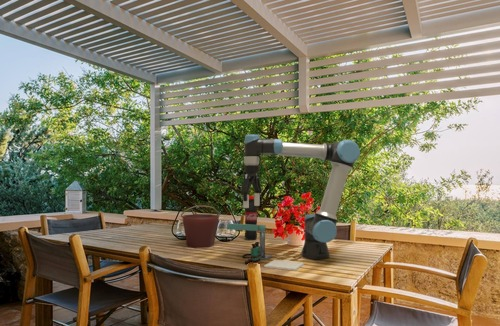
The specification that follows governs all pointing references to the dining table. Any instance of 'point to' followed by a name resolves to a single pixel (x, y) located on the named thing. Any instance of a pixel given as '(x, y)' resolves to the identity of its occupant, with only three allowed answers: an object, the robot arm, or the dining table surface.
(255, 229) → the swing arm
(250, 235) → the cola bottle
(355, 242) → the dining table surface
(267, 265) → the tile
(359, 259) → the dining table surface
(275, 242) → the dining table surface
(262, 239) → the post
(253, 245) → the binoculars
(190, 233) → the bucket
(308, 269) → the dining table surface
